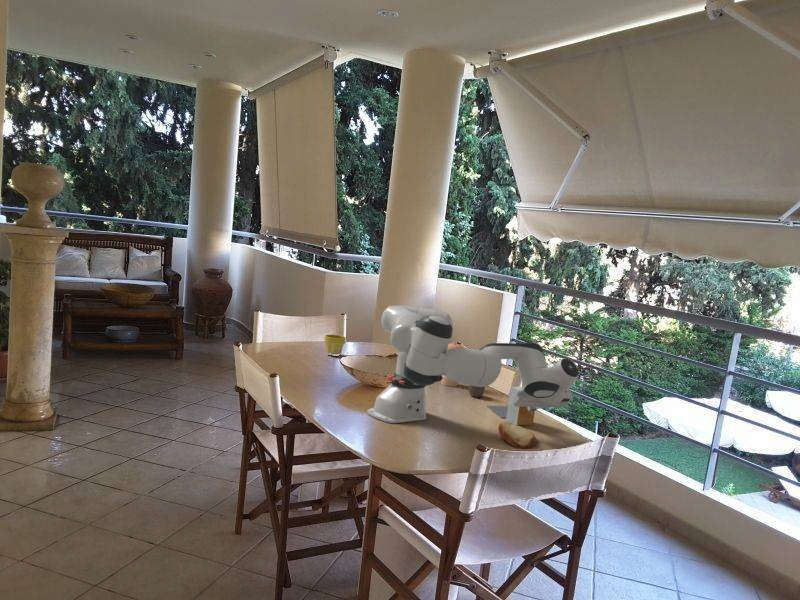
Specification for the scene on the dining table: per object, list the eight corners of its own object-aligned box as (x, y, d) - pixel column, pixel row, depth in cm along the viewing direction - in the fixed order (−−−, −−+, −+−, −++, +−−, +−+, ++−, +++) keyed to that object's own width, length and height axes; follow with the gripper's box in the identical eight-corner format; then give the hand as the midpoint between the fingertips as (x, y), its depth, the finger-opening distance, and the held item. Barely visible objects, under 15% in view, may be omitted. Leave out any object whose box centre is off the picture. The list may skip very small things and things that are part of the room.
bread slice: (503, 425, 216) (504, 415, 215) (549, 440, 205) (550, 430, 204) (477, 435, 202) (478, 424, 202) (524, 452, 191) (525, 441, 190)
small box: (516, 426, 216) (521, 391, 214) (505, 420, 221) (510, 386, 219) (533, 424, 220) (538, 390, 218) (522, 419, 225) (526, 385, 224)
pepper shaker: (457, 383, 269) (462, 341, 267) (457, 387, 262) (462, 344, 259) (441, 381, 269) (446, 339, 267) (441, 385, 262) (446, 342, 260)
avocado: (479, 399, 245) (482, 379, 244) (464, 395, 249) (467, 375, 248) (486, 396, 251) (489, 376, 250) (471, 392, 255) (474, 373, 254)
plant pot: (335, 352, 305) (337, 333, 304) (347, 356, 298) (349, 337, 296) (319, 353, 298) (320, 334, 297) (331, 358, 291) (333, 338, 289)
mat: (528, 418, 226) (528, 417, 226) (501, 418, 223) (501, 417, 223) (512, 407, 239) (512, 406, 239) (486, 406, 237) (487, 405, 236)
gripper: (523, 397, 198) (506, 416, 208) (576, 399, 203) (558, 417, 214) (518, 381, 202) (503, 400, 212) (571, 383, 207) (553, 401, 218)
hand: (531, 409), depth 213 cm, fingers closed
